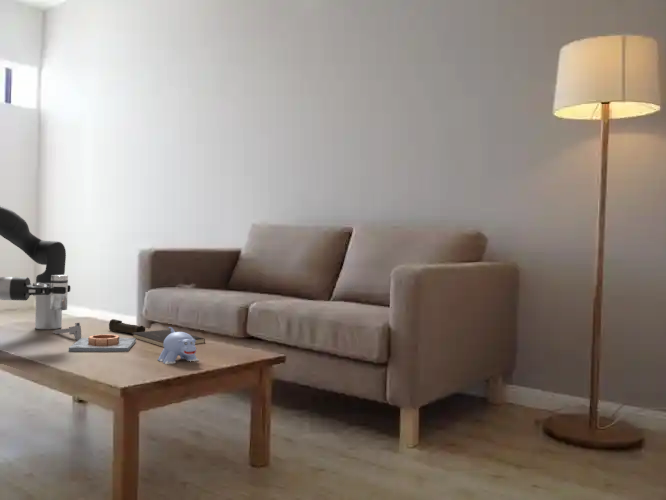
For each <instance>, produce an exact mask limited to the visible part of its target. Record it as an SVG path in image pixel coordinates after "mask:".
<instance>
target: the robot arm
mask: <svg viewBox="0 0 666 500" xmlns="http://www.w3.org/2000/svg"><path fill="white" fill-rule="evenodd" d="M0 237H2V238H4V239H5V240H7V241H8V242H10V243H11V244H13V245H14V246H15V247H17V248H18V249H20V250H21V251H23V252H24V253H25V254H26V255H27V256H28V257H29V258H30V259H31V260H32V261H34V262H35V263H36V264H39V265H42V266H45V270H44V271H43V272H42V273H39V274H38V275H36V276H35V277H36V278H35V282H33V283H31V280H30V278H29V277H28V276H0V300H1V301H27V300H29V299H30V297H31V296H34V297H35V323H34V326H35V327H34V328H35V330H36V329H37V330H59V329H62V328H63V327H62V325H63V324H62V322H63V320H62V319H63V318H62V317H63V315H62V314H63V310H50V306H51V295H52V294H65V293H66V287H53V286H51V275H65V271H66V261H67V260H66V258H67V255H66V253H67V252H66V251H67V250H66V247H65V245H64V244H63V242H61V241H57V240H43V239H40V238H39V237H37V236H35V235H34V234H33V233H32V232H31V231H30V228H29V225H28V223H27V221H26V220H25V219H24V218H23V217H21V216H20V215H19V214H18V213H16V212H15V211H13V210H11V209H9V208H7V207H6V206H5V207H4V206H2V205H0ZM70 292H71V285H69V284H68V293H70Z"/></svg>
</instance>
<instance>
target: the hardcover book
mask: <svg viewBox="0 0 666 500" xmlns="http://www.w3.org/2000/svg"><path fill="white" fill-rule="evenodd" d="M174 331H175V332H180V331H178V330H176V329H174ZM169 334H171V328H169V329H160V330H159V329H158V330H157V329H156V330H149V331H146V330H145V332H135V333H132V334H131V335H133V336H132V338H136V340H140V341H143V342H147V343H150V344H153V345H156V346H159V347H162V348H164V346H163V343H164V340H165V338H166V337H167V336H168V335H169ZM188 334H189V335H191V336H192V337H193V339H195V340H196V342H195V345H198V344H205V343H206V340H205V337H200V336H197V335H193V334H190V333H188Z"/></svg>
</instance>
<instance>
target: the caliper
mask: <svg viewBox="0 0 666 500" xmlns="http://www.w3.org/2000/svg"><path fill="white" fill-rule="evenodd" d="M54 333H55V335H59V334H66V333H67V334H68V333H69V335H73V336H74V340H75V341H78V340H79V339H81V338H82V325H81V324H80V322H75V323H74V326H70V327H68V328H59V329H53V331H52V334H54Z"/></svg>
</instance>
